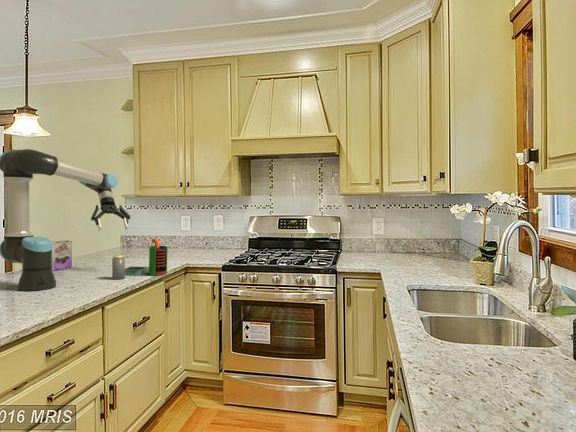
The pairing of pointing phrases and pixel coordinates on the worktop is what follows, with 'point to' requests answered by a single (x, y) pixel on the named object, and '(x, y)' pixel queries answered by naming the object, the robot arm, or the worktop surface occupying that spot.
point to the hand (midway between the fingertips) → (113, 228)
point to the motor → (157, 259)
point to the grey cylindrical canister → (118, 267)
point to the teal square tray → (136, 271)
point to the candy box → (61, 255)
